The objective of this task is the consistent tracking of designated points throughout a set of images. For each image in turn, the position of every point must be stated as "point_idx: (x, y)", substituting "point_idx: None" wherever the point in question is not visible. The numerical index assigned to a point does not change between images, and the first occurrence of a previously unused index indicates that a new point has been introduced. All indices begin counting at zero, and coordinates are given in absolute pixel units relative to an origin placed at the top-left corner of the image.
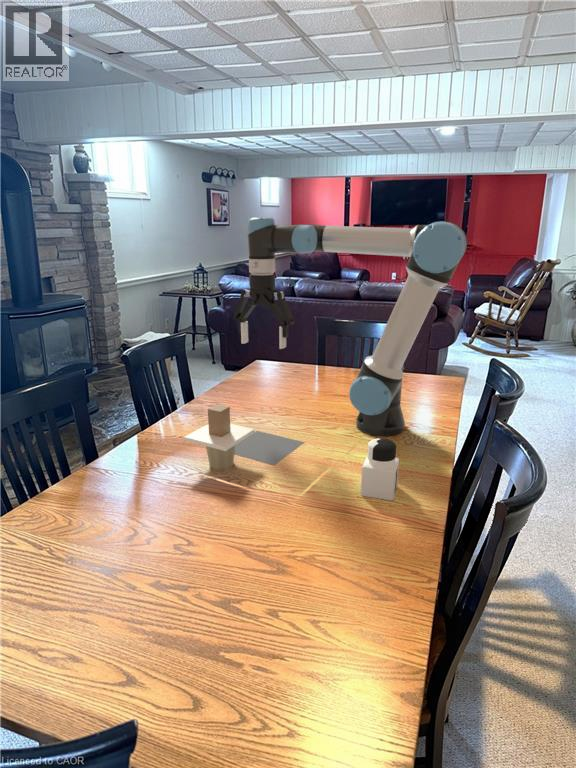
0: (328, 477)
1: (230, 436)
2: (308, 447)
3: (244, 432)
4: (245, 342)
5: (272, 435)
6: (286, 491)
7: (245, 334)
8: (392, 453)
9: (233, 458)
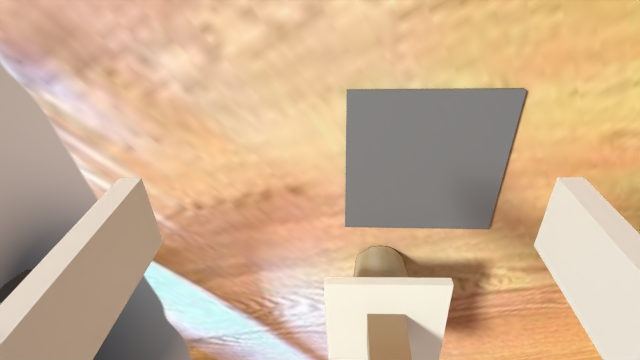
0: (624, 211)
1: (419, 329)
2: (541, 102)
3: (439, 306)
4: (152, 220)
5: (410, 97)
6: (544, 280)
7: (112, 270)
8: None
9: (406, 270)
